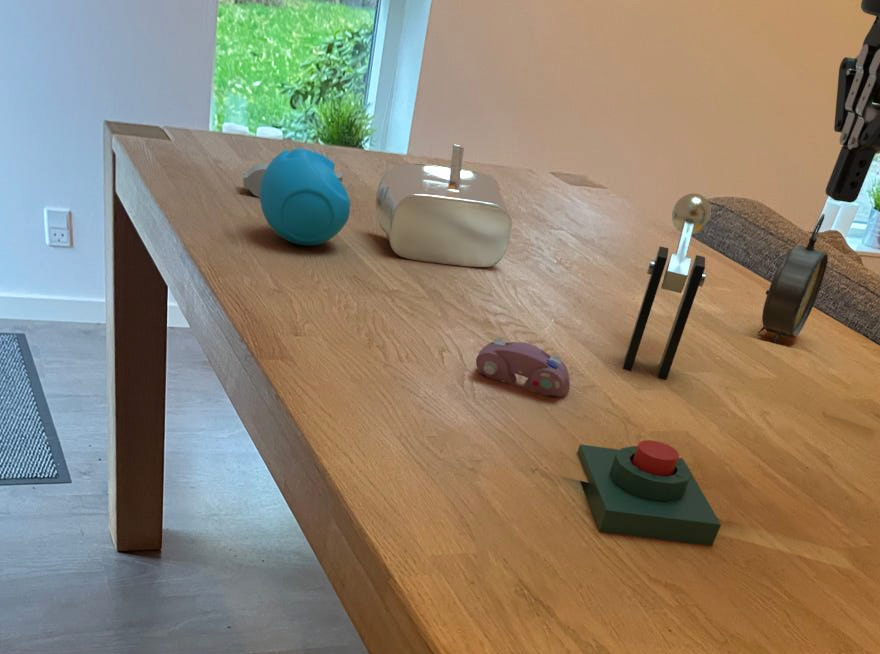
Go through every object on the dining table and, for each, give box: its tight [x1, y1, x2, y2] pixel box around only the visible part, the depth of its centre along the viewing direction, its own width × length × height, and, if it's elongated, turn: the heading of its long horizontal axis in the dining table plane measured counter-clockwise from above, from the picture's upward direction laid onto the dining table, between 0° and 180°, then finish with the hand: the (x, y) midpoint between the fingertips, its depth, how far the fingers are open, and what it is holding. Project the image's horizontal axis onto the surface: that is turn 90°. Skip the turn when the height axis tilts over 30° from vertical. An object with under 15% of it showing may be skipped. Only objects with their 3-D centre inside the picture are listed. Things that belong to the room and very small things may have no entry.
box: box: [577, 443, 722, 547], centre depth 86 cm, size 12×10×4 cm
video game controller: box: [475, 337, 571, 398], centre depth 101 cm, size 10×5×7 cm, turn 68°
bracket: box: [622, 246, 707, 381], centre depth 108 cm, size 12×9×14 cm
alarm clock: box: [757, 213, 829, 345], centre depth 128 cm, size 11×5×16 cm, turn 147°
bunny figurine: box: [242, 162, 346, 199], centre depth 148 cm, size 10×5×15 cm
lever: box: [660, 193, 712, 294], centre depth 108 cm, size 14×4×4 cm, turn 165°
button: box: [632, 439, 680, 476], centre depth 85 cm, size 4×4×2 cm
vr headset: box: [375, 143, 513, 268], centre depth 135 cm, size 18×11×14 cm, turn 98°
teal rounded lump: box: [260, 147, 351, 247], centre depth 129 cm, size 12×11×12 cm
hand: (839, 198), depth 81 cm, fingers closed
